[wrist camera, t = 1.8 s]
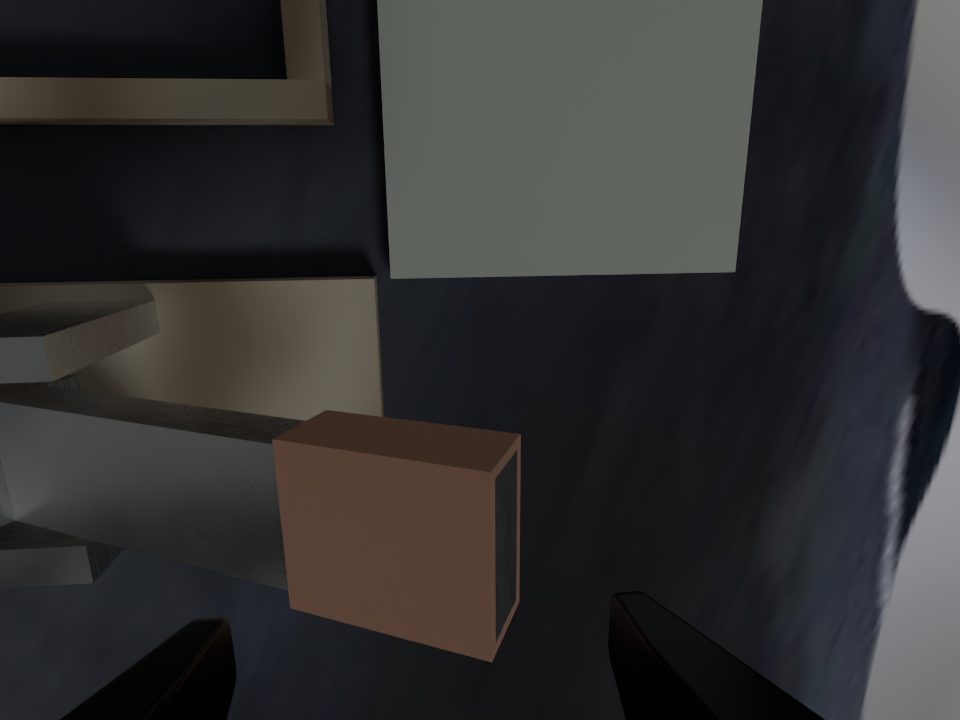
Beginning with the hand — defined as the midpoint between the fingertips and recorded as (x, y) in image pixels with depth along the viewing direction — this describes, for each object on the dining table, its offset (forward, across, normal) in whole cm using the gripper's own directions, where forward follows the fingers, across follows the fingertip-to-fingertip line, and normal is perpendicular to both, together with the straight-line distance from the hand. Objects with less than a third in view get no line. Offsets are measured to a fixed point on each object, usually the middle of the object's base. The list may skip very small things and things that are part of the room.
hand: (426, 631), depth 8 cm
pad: (+12, -4, -10) cm, 16 cm away
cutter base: (+12, +8, 0) cm, 14 cm away
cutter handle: (+7, +6, 0) cm, 9 cm away
